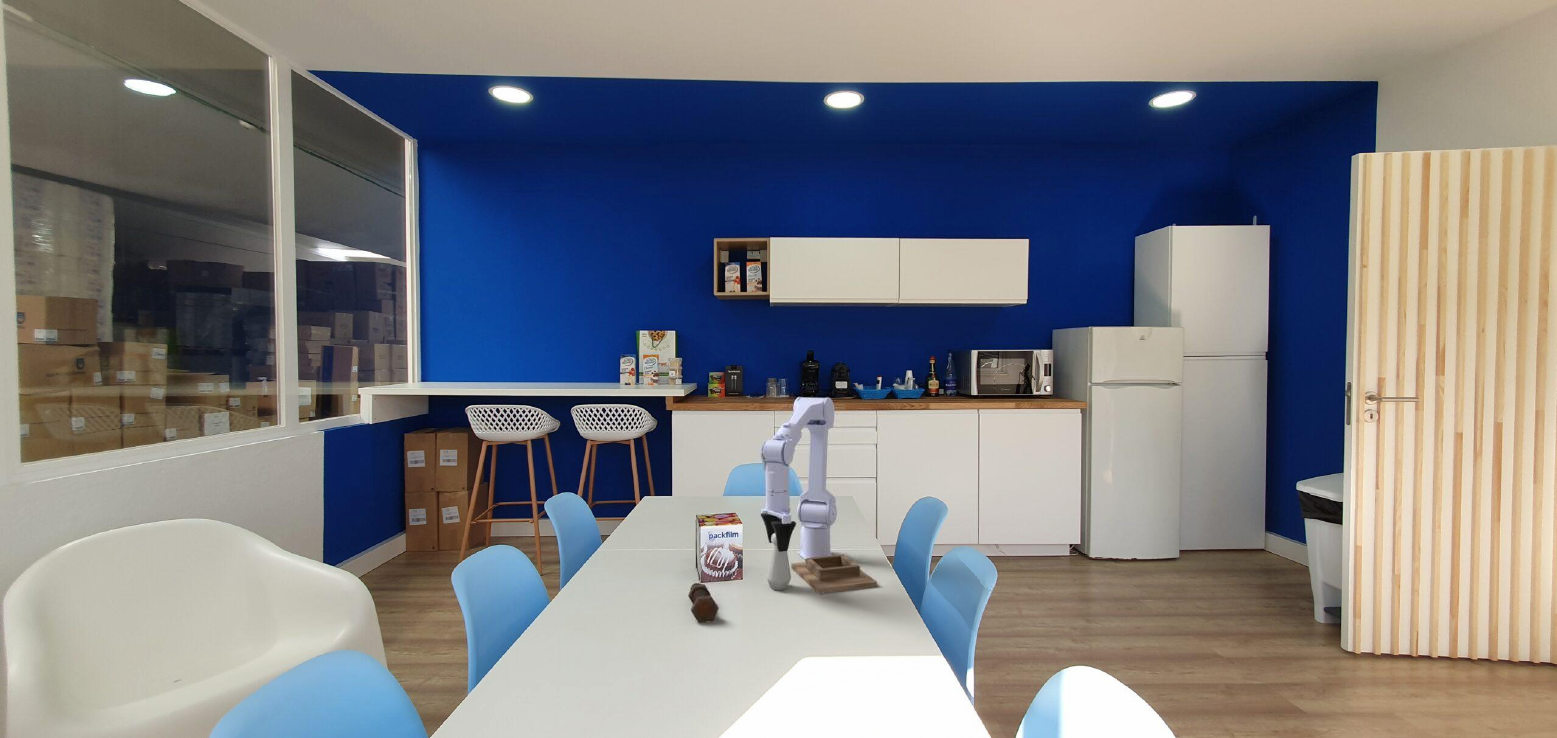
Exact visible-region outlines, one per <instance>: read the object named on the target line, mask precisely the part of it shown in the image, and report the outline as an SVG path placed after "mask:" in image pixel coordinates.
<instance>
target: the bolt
mask: <svg viewBox="0 0 1557 738" xmlns="http://www.w3.org/2000/svg"><path fill="white" fill-rule="evenodd" d="M687 596H688V597H687V598H689V600H690V602H691V603H692V606H691V608H690V611H691V613H692V615H693V616H694V618H695V620H696V621H697V622H698V623H706V622H707V621H709V622H713V620H714V619H715V617H716V616H717V614H718V611H719V606H718V604H717V603H716V601H715V600H714V598H713V596H712V594H711V592H710V591H709V588H708V587H707V586H706V585H705V583H700V582H699V583H698V582H697V583H696V582H695V583H692V585H691V587H690V589H689V592H688V595H687Z"/></svg>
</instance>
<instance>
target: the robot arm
mask: <svg viewBox="0 0 1557 738" xmlns="http://www.w3.org/2000/svg"><path fill="white" fill-rule="evenodd" d="M792 409H793V415H792V416H791V418H790V420H789V421H788V422H784V423H783V424H782V425H781V426H780V427H779V429H778V430H777V431H776V433H775V434H774V436H773V437H772V439H767V440H766V441H765V442H763V444H762V445H761V451H760V458H761V462H762V469H763V471H764V473H765V508H760V512H761V513H760V517H761V518H762V521H763V523H764V526H765V527H764V528H765V530H766V535H767V539H768V543H769V544H773V543H772V542H771V537H772V535H773V534H774V533H775V535H776V541H777V548H778V551H779V552H783V551H787V552H788V550H789V546H790V542H791V538H792V535H793V531H794V530H795V528H796V525H797V522H796V521H793V520H792V514H791V512H792V511H791V505H790V503H791V502H790V498H791V496H790V495H791V493H790V492H791V491H790V490H791V489H790V464H791V463H792V462H793V459H794V454H795V452H796V446H797V445H798V444H799V442H800V441H801V439H802V436H803V435H802V434H803V433H802V430H803V429H804V428H807V429H808V431H809V451H808V452H809V453H808V454H809V455H808V456H809V457H808V479H807V480H808V481H807V490H805V491H804V492H802V493H801V494H800V495H799V498H798V505H797V508H796V517H797V519H798V521H799V523H801V528H800V534H799V535H800V550H798V551H796V552H797V554H798V555H799V556H800V557H801V558H803V560H805V561H806V558H813V557H823V556H832V554H831V526H833V525H834V523H835V522H836V520H837V516H838V515H837V514H838V509H837V505H836V497H835V495H833V494H832V493H831V492H830V491H829V490H828V489H827V467H828V465H827V464H828V463H827V462H828V442H829V441H828V440H829V439H828V438H829V429H830V430H831V428H834V424H835V405H834V402H833V400H832V398H830V397H802V396H798V397H797V398H795V400H794V402H793V407H792Z"/></svg>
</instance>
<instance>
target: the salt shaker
mask: <svg viewBox="0 0 1557 738" xmlns="http://www.w3.org/2000/svg"><path fill="white" fill-rule="evenodd" d="M771 542H772V543H771V544H772V551H771V555H770V559H769V564H768V569H767V574H766V581H767V582H768V585H769V587H770V588H771V589H772V590H773V591H774V590H775V591H783V590H786V589H788V587H789V584H790V582H791V579H792V574H791V569H790V568H791V566H790V562H789V554H788V551H783V552H779V551H778V548H777V541H776V535H775V533H774V534H773V535H772V537H771Z"/></svg>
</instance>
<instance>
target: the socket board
mask: <svg viewBox="0 0 1557 738" xmlns="http://www.w3.org/2000/svg"><path fill="white" fill-rule="evenodd" d="M831 555H832V554H831ZM790 568H791V569H792V570H793V571H794V572H795V573H796V574H797V575H798V576H799V577H800V578H801V579H802V580H803V581H805V583H806V584H807V585H808V586H810V588H812V590H814V591H815V592H816V594H818V595H819V594H827V593H836V592H844V591H851V590H860V589H868V588H875V587H877V588H878V584H877V583H878V582H877V580H876V579H874V578H873V577H871V576H870V575H869V574H867V573H866V572H865V571H864V570H861V567H860V565H859V564H857V563H856V562H854V561H853V560H852V559H851V558H849V557H848V556H847V555H845V554H836V555H834V554H833V555H832V556H823V557H813V558H806V560H805V561H801V562H793V563H791V564H790Z"/></svg>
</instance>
